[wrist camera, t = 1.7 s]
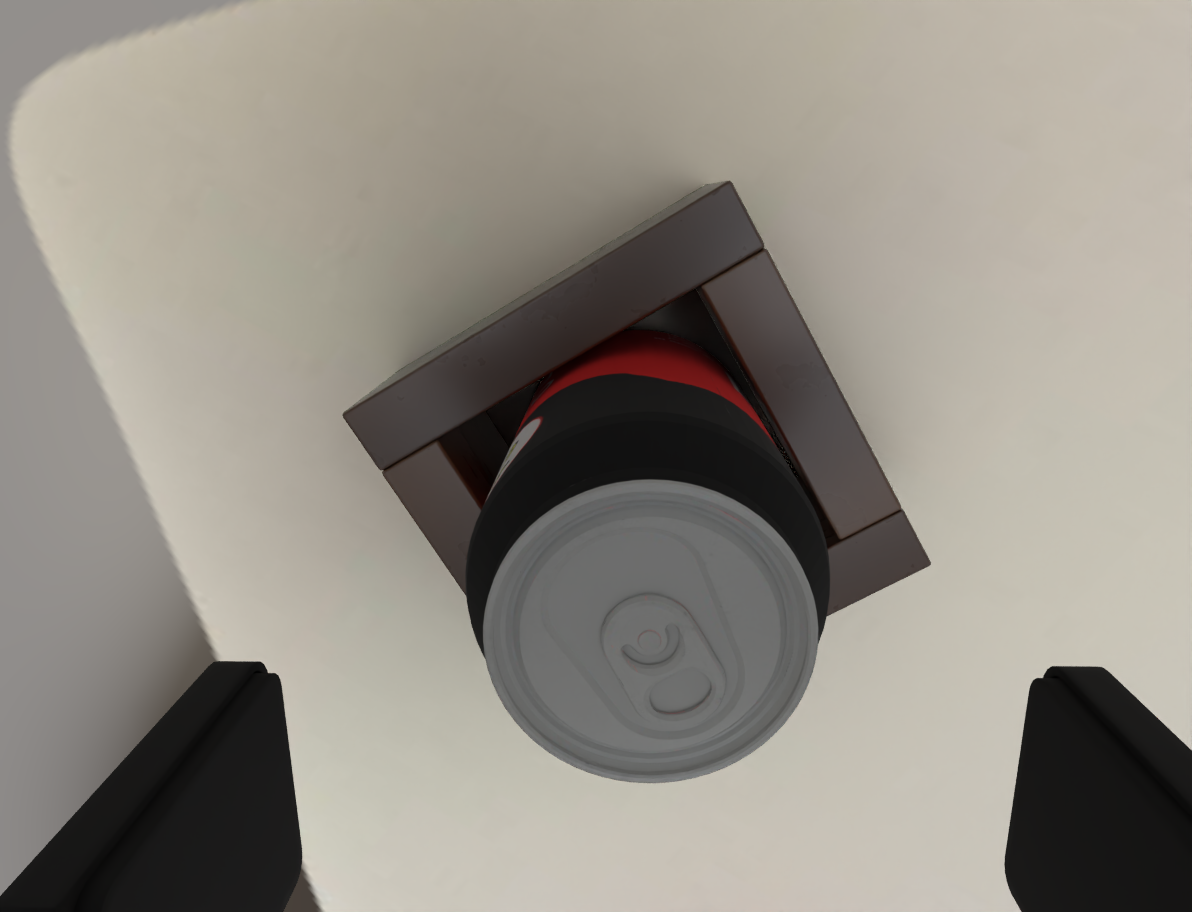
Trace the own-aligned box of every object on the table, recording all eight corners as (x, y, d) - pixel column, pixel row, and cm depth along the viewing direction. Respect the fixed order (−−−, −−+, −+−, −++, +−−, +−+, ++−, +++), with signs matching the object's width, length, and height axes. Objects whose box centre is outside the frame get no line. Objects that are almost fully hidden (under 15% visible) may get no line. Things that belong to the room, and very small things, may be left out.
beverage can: (686, 282, 23) (747, 365, 12) (785, 477, 25) (924, 719, 13) (486, 390, 24) (364, 563, 13) (593, 571, 26) (569, 870, 14)
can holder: (395, 371, 24) (340, 414, 19) (708, 183, 23) (730, 178, 18) (577, 647, 27) (567, 745, 22) (873, 494, 25) (932, 565, 20)
